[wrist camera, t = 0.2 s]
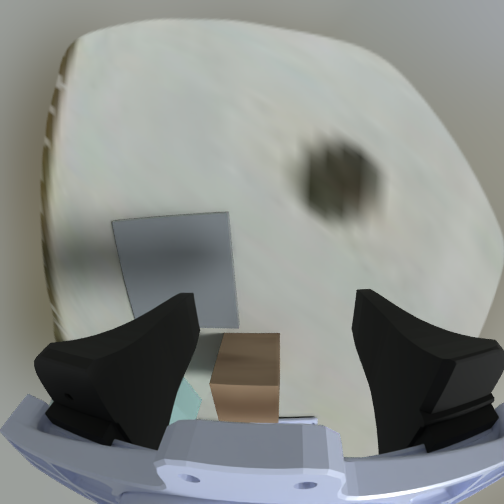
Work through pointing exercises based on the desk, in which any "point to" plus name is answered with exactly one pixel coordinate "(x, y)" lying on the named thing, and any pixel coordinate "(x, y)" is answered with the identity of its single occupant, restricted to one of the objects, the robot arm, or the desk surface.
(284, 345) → the desk surface
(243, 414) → the walnut block
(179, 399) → the teal block
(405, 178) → the desk surface
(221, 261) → the slate coaster
